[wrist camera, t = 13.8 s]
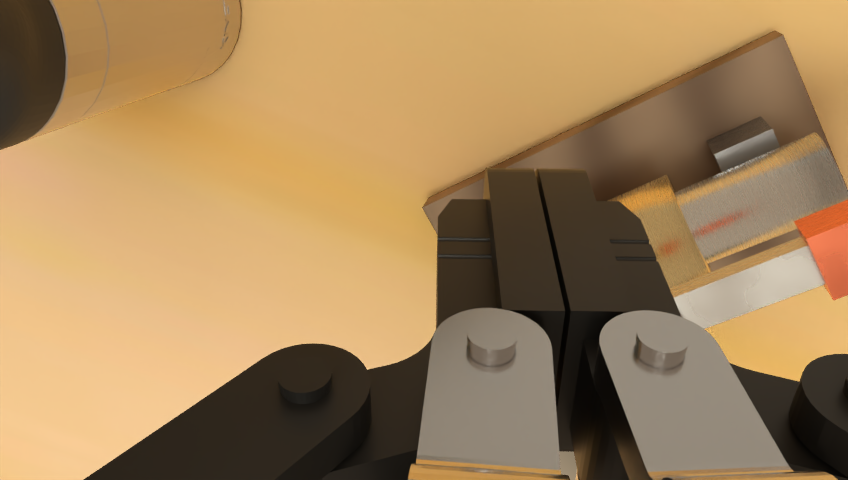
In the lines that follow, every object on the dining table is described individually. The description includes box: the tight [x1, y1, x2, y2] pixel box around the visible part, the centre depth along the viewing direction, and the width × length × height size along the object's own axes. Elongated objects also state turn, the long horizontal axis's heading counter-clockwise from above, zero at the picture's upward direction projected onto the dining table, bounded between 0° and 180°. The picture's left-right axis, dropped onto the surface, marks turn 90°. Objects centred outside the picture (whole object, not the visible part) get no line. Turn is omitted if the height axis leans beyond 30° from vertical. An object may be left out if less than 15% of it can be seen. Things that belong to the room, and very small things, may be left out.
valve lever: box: [670, 200, 848, 329], centre depth 31 cm, size 3×16×2 cm, turn 120°
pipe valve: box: [608, 116, 848, 288], centre depth 39 cm, size 20×6×12 cm, turn 120°
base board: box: [422, 31, 839, 271], centre depth 46 cm, size 22×12×2 cm, turn 120°
